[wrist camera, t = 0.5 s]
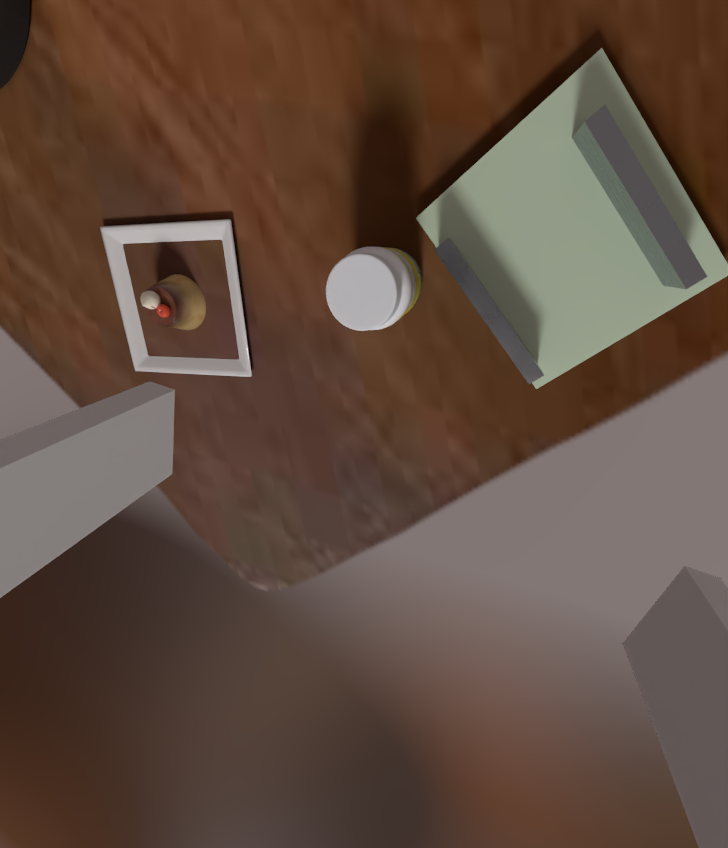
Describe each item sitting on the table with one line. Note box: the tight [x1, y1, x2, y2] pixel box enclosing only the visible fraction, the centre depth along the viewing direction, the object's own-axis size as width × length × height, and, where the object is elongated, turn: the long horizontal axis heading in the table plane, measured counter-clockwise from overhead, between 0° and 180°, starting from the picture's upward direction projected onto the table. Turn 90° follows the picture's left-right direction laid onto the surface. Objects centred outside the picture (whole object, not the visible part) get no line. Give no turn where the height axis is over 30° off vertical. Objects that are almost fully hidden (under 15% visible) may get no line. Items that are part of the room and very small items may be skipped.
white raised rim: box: [100, 219, 252, 377], centre depth 32 cm, size 12×12×5 cm
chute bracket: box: [435, 105, 707, 384], centre depth 23 cm, size 10×10×3 cm
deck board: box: [416, 48, 728, 389], centre depth 25 cm, size 14×12×1 cm
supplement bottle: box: [326, 247, 422, 331], centre depth 25 cm, size 5×5×8 cm
